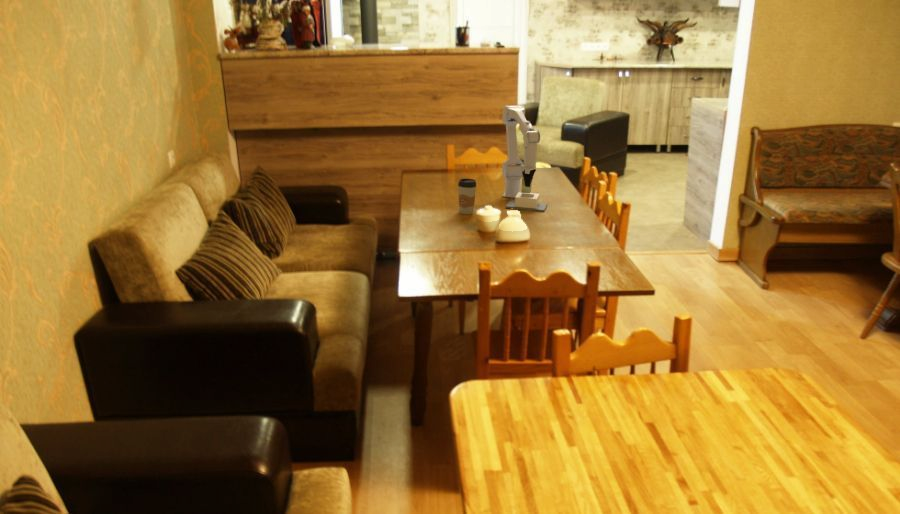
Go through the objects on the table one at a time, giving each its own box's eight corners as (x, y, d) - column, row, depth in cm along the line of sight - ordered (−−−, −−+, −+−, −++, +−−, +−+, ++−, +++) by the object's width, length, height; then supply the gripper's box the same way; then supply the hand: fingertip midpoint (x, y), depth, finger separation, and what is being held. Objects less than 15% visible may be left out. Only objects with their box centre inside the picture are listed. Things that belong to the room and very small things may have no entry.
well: (510, 201, 334) (510, 190, 332) (547, 205, 330) (548, 194, 328) (505, 208, 323) (506, 196, 321) (544, 212, 319) (544, 200, 317)
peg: (522, 190, 327) (523, 174, 324) (531, 191, 326) (532, 174, 323) (521, 192, 323) (522, 176, 320) (529, 193, 322) (530, 176, 319)
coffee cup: (453, 213, 313) (454, 181, 308) (462, 208, 320) (463, 177, 315) (470, 216, 310) (471, 183, 304) (478, 211, 317) (479, 179, 311)
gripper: (523, 153, 326) (521, 181, 330) (519, 159, 312) (517, 188, 317) (538, 154, 324) (536, 182, 329) (534, 160, 311) (532, 189, 316)
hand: (528, 185), depth 323 cm, fingers closed on peg, 4 cm apart
